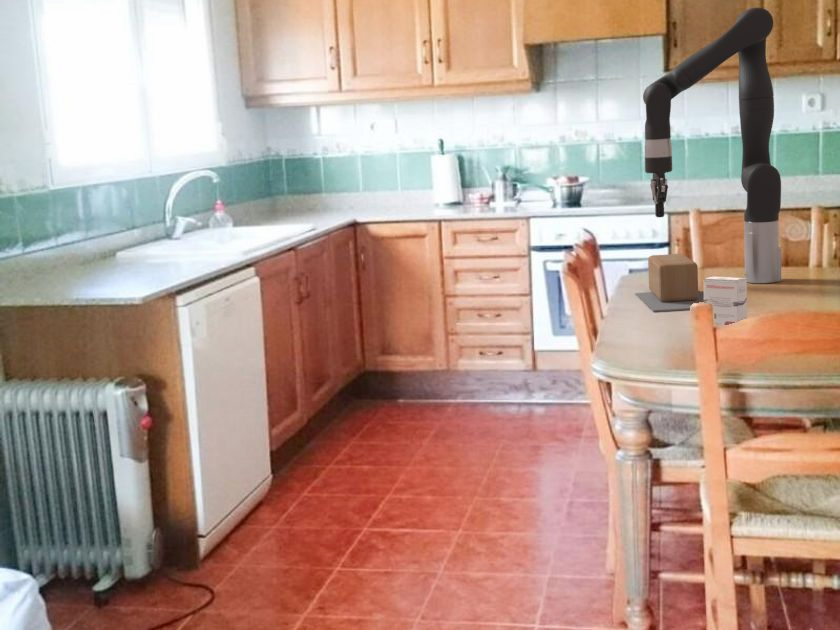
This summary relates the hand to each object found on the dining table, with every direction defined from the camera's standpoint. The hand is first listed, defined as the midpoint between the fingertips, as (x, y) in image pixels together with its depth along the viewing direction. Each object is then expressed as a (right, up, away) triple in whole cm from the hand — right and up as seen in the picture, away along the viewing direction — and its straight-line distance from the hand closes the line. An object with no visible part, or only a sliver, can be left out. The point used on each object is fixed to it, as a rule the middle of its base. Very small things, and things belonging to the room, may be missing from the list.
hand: (659, 216), depth 300 cm
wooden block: (0, -16, -6) cm, 17 cm away
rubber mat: (0, -24, -21) cm, 32 cm away
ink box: (+2, -31, -59) cm, 67 cm away
